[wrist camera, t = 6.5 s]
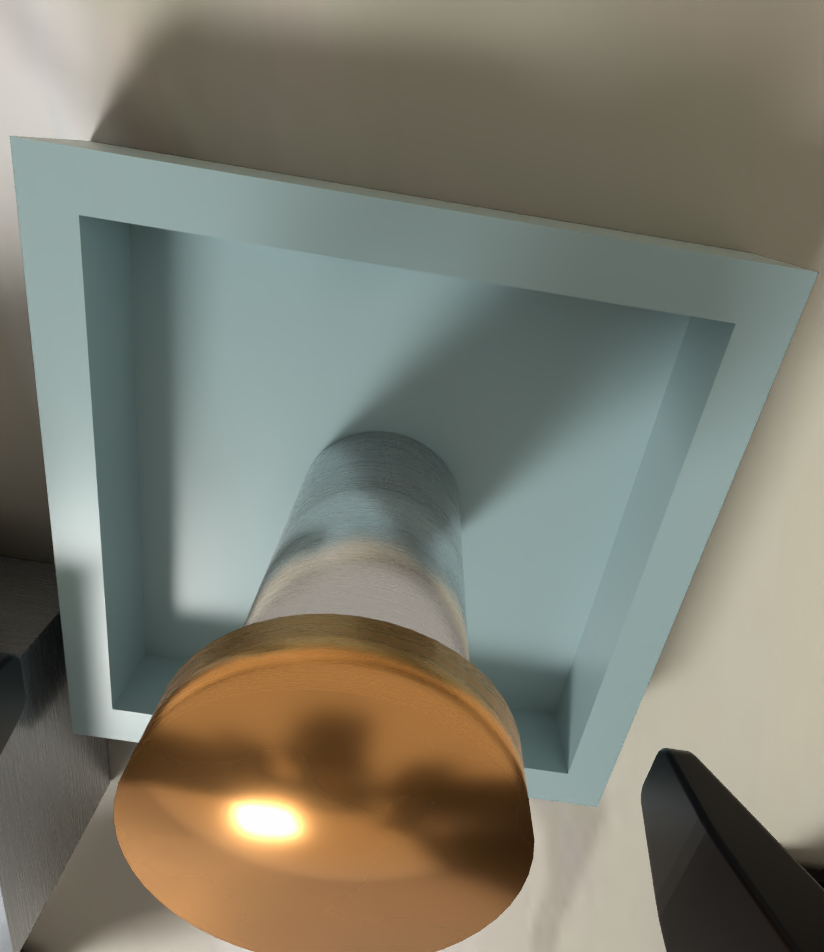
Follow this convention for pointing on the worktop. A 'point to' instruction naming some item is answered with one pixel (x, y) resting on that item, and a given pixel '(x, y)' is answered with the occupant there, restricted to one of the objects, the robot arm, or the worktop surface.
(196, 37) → the worktop surface
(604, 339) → the tray
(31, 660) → the block
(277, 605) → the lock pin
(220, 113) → the worktop surface
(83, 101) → the worktop surface
